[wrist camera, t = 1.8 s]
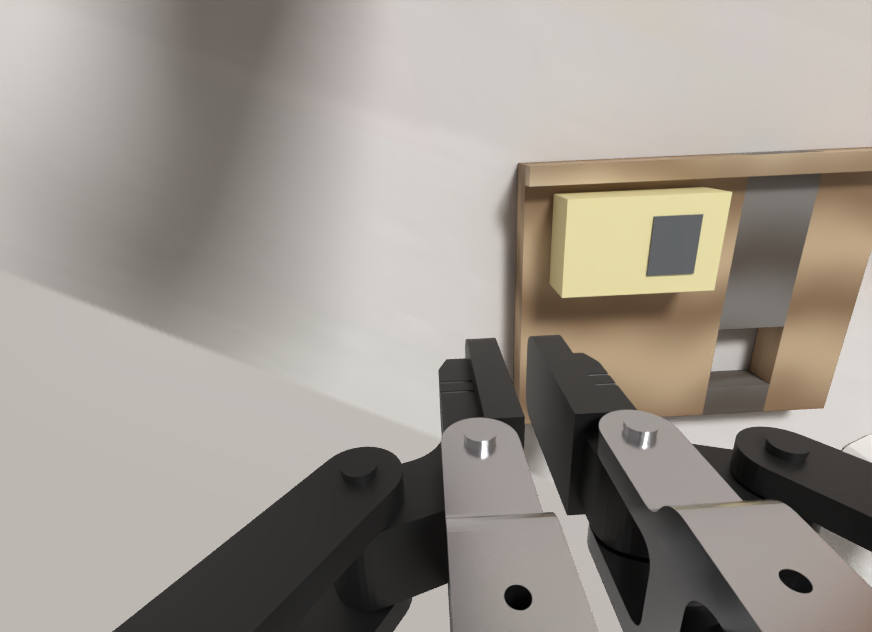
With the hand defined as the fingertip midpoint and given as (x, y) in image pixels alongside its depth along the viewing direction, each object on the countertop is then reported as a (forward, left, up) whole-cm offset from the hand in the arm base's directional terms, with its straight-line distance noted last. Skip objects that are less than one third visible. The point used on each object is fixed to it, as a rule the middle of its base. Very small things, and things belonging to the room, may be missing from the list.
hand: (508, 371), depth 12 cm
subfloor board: (+4, +14, -17) cm, 22 cm away
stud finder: (0, +9, -15) cm, 17 cm away
